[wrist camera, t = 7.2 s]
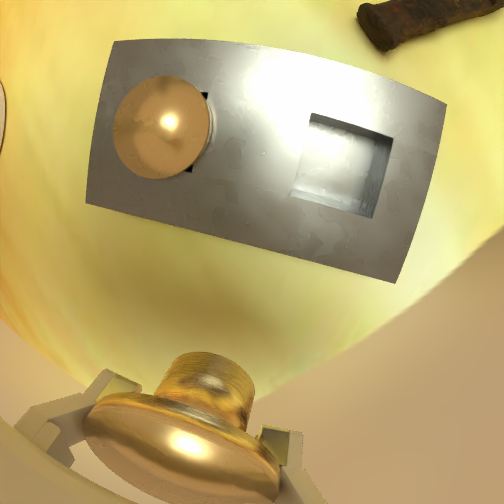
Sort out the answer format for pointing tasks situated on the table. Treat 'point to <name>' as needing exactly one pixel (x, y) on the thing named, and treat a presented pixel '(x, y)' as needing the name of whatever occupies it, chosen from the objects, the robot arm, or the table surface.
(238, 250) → the table surface
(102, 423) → the tan dome cap
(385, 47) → the hand tool
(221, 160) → the block
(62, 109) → the table surface
